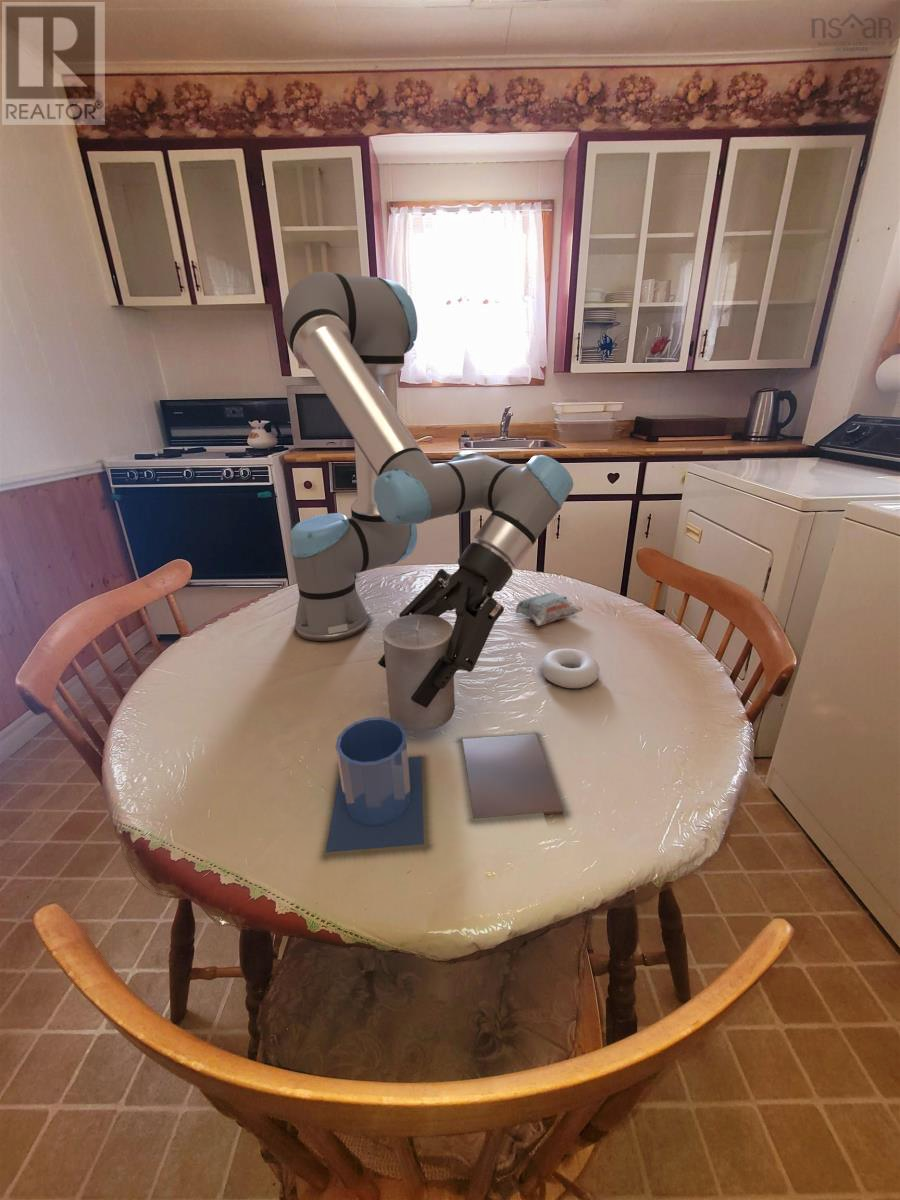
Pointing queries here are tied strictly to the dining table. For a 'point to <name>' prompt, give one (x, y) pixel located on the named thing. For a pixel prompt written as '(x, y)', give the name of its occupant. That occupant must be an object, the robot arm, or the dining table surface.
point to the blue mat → (393, 834)
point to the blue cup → (374, 770)
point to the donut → (574, 677)
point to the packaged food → (547, 608)
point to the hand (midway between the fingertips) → (400, 684)
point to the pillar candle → (416, 669)
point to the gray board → (509, 777)
